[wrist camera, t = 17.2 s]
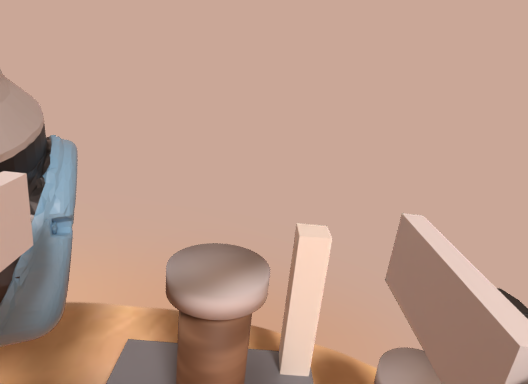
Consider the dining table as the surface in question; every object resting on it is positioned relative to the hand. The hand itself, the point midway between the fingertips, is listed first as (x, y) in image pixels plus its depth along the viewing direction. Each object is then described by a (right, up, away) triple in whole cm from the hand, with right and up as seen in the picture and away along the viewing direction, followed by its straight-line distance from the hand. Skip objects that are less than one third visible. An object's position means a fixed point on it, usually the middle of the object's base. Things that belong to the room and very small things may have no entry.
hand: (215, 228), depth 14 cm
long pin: (-2, -18, +14) cm, 23 cm away
